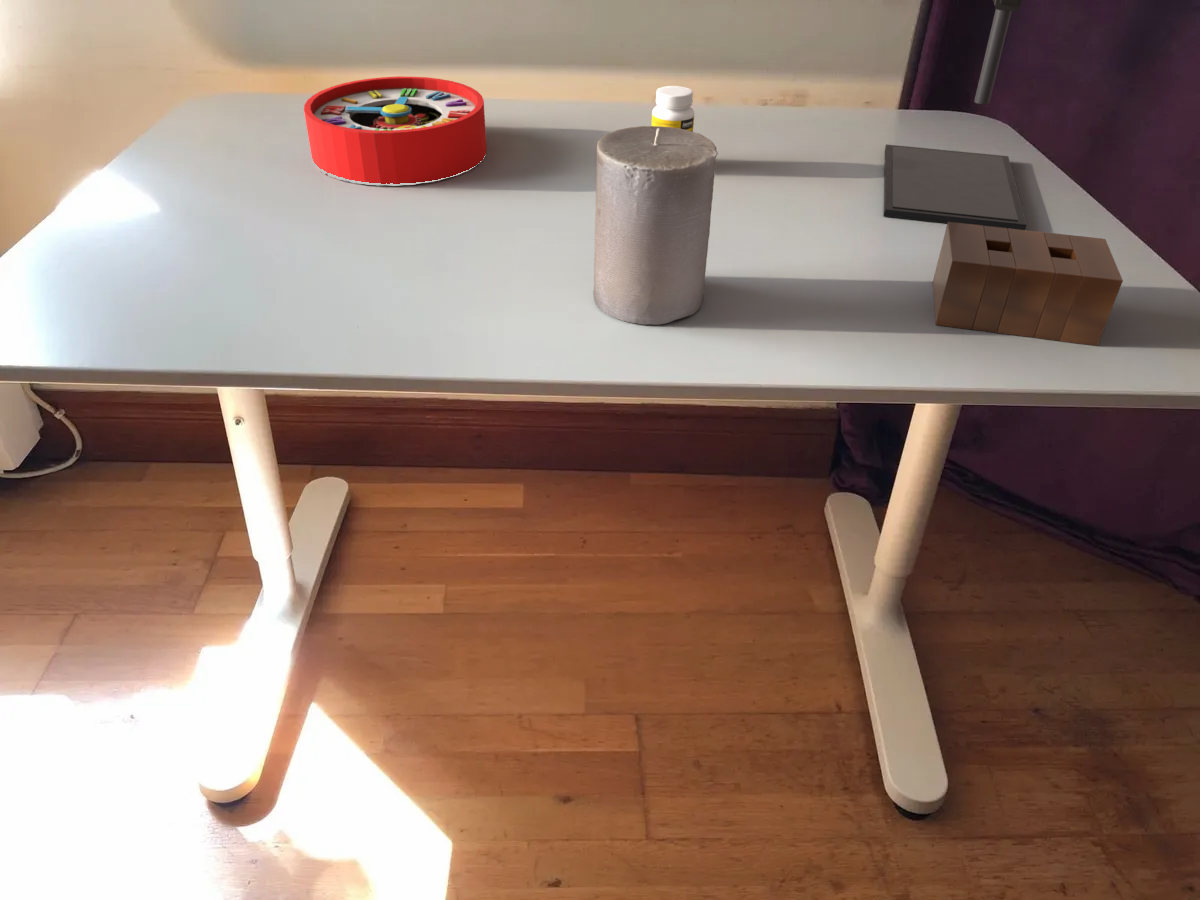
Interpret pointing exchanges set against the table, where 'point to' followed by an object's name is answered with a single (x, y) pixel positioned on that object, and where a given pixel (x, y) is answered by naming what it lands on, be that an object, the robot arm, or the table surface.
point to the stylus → (992, 56)
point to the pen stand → (1025, 283)
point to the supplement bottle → (674, 108)
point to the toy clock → (396, 129)
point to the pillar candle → (652, 222)
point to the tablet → (951, 187)
